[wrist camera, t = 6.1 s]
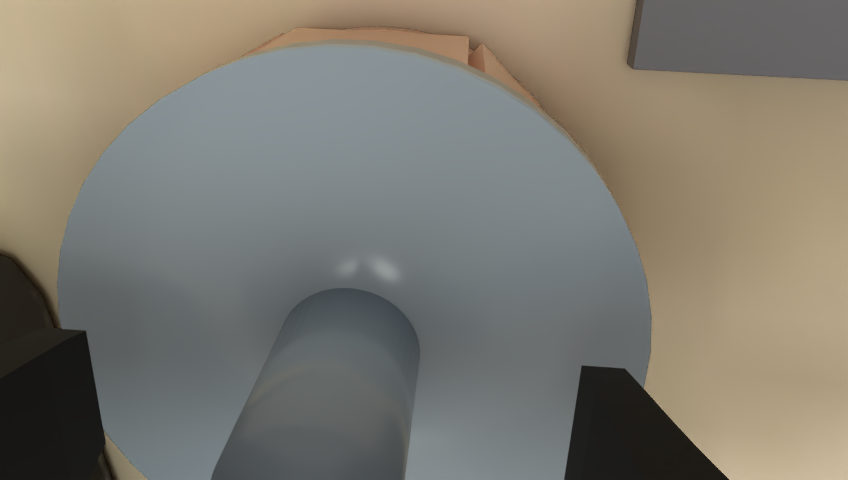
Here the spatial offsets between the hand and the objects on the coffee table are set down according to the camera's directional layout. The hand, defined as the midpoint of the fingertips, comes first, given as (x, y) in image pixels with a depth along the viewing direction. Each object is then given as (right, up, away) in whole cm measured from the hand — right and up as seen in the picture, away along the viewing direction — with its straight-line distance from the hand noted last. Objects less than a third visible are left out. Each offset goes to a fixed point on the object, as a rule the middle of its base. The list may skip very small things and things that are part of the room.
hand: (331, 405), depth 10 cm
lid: (0, +1, +3) cm, 3 cm away
